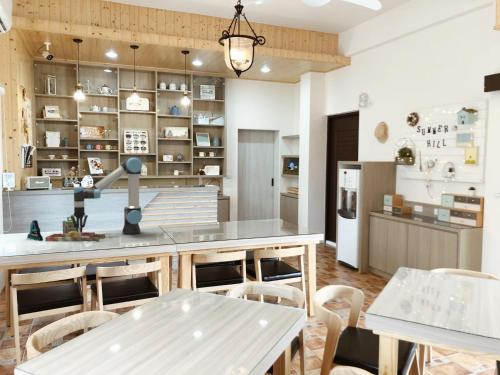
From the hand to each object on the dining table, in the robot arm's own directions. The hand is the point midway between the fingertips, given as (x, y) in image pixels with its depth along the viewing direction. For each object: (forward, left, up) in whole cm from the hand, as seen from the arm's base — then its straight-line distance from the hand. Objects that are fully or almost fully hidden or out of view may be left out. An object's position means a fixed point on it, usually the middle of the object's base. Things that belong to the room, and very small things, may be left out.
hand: (79, 236), depth 329 cm
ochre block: (+4, 0, -3) cm, 5 cm away
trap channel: (+3, -4, -3) cm, 5 cm away
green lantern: (+15, -19, -3) cm, 24 cm away
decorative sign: (+35, 0, -3) cm, 35 cm away
